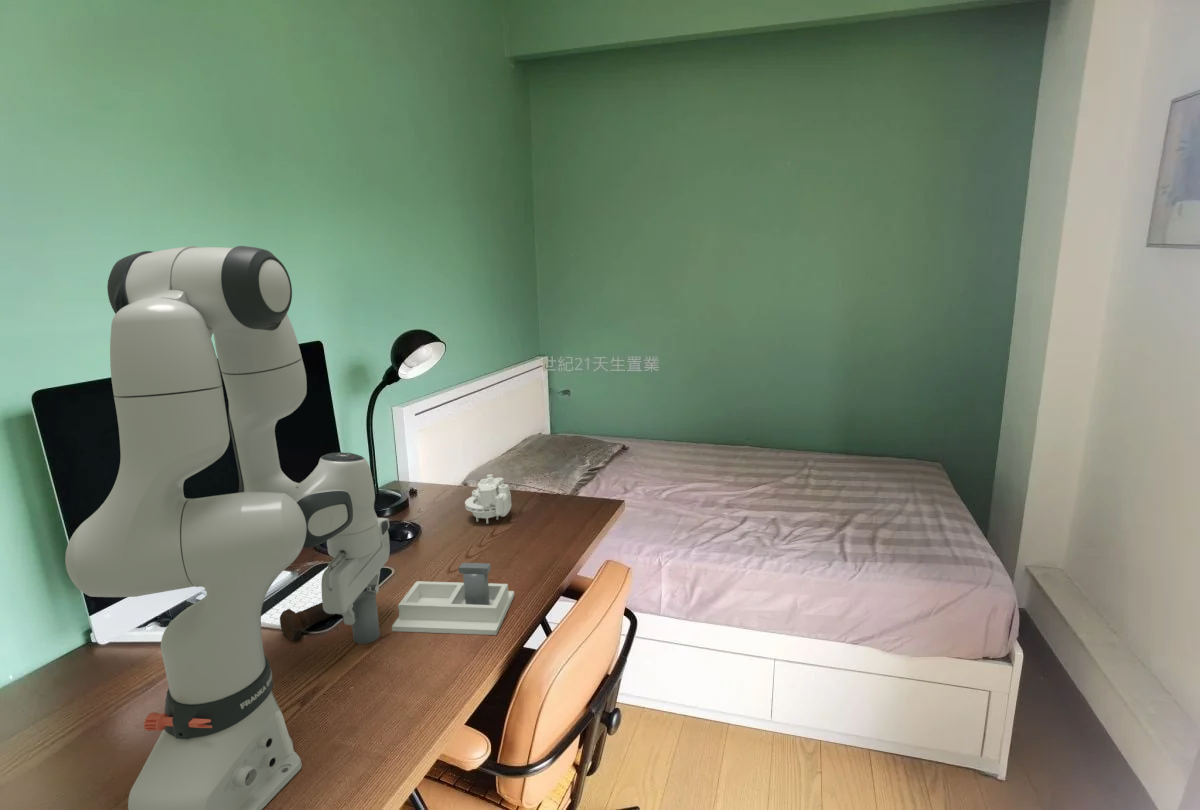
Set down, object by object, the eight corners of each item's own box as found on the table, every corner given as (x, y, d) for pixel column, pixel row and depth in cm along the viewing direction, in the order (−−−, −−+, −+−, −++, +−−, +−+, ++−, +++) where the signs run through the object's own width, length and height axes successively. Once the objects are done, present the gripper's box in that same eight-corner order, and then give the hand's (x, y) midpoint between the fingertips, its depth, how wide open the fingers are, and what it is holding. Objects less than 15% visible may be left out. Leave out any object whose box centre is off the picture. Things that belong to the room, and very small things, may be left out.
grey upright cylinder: (373, 644, 115) (368, 604, 113) (349, 643, 115) (343, 604, 113) (384, 630, 119) (379, 591, 117) (360, 629, 120) (356, 590, 118)
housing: (496, 635, 117) (492, 584, 114) (392, 631, 119) (386, 581, 116) (514, 595, 130) (511, 549, 128) (420, 592, 132) (415, 547, 130)
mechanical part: (474, 510, 175) (471, 469, 172) (516, 511, 173) (514, 470, 171) (460, 527, 164) (456, 484, 161) (504, 529, 162) (502, 485, 160)
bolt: (363, 612, 129) (290, 646, 117) (350, 595, 131) (277, 626, 119) (369, 594, 126) (295, 627, 114) (356, 576, 128) (282, 607, 117)
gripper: (343, 568, 103) (353, 642, 107) (392, 515, 123) (399, 579, 126) (306, 567, 104) (317, 641, 107) (361, 514, 123) (368, 578, 127)
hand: (362, 607), depth 117 cm, fingers open, 8 cm apart
